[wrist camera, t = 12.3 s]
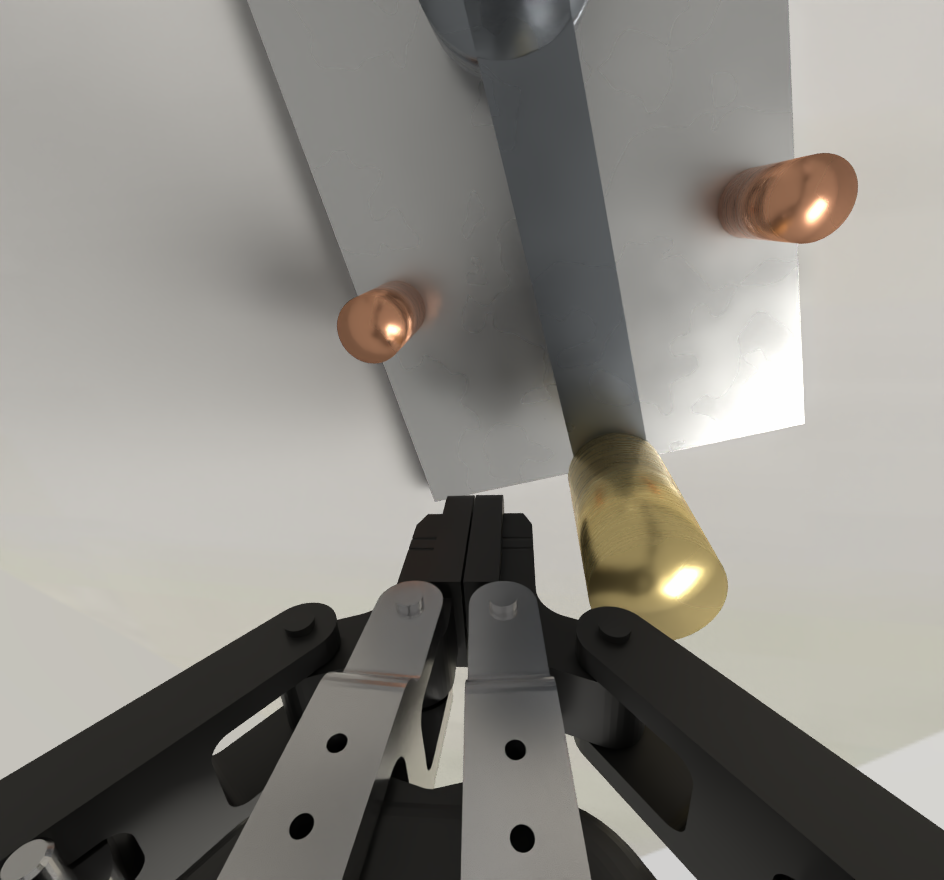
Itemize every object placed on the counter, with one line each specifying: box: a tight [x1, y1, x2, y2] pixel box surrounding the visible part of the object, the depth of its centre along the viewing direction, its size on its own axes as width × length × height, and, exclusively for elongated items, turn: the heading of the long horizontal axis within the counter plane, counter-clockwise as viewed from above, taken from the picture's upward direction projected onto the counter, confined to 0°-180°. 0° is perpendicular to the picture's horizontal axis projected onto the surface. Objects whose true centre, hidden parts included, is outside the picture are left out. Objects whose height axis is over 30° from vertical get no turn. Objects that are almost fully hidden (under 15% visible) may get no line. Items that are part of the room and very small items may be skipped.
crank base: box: [247, 0, 858, 502], centre depth 13 cm, size 16×13×4 cm
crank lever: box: [419, 0, 728, 640], centre depth 10 cm, size 15×4×7 cm, turn 17°
